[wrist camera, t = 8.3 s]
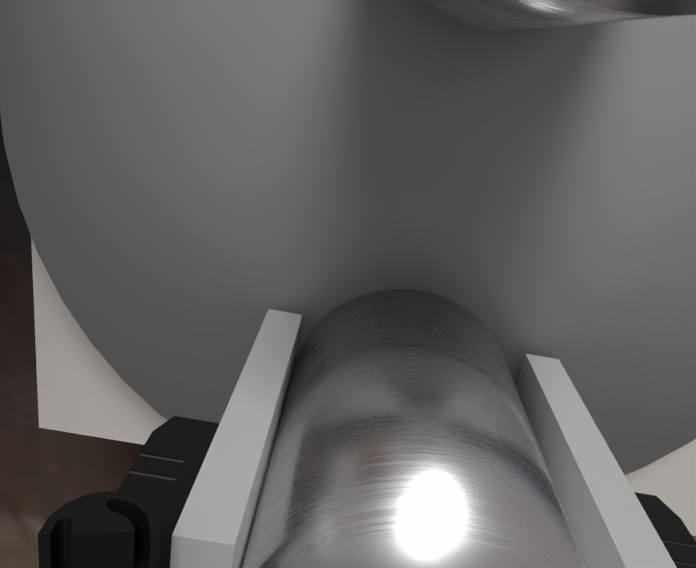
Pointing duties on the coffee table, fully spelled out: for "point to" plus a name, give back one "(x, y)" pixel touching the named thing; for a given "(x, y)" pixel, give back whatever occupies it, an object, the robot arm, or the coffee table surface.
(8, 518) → the coffee table surface
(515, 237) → the scale
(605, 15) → the cylinder
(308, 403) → the cylinder
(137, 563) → the robot arm
